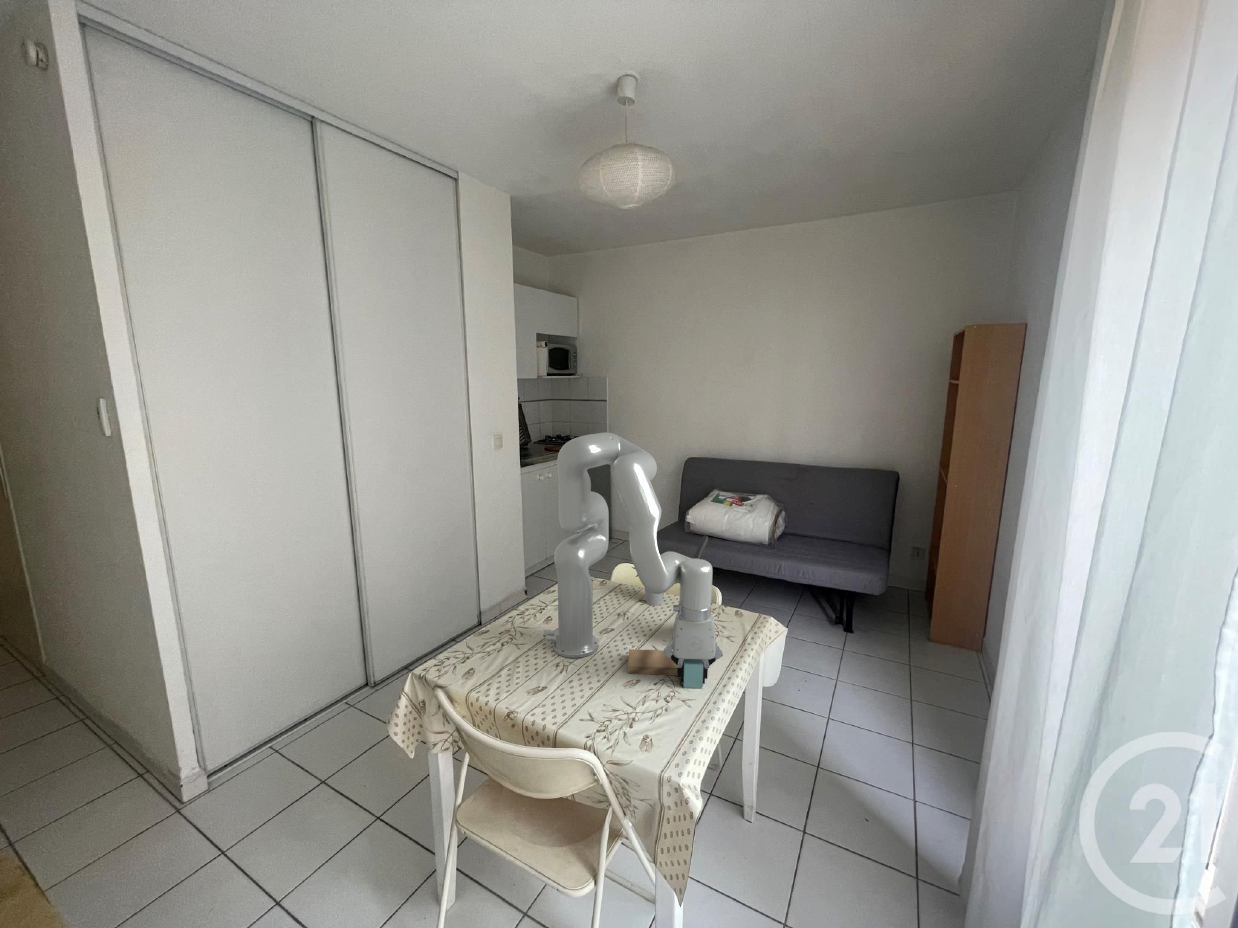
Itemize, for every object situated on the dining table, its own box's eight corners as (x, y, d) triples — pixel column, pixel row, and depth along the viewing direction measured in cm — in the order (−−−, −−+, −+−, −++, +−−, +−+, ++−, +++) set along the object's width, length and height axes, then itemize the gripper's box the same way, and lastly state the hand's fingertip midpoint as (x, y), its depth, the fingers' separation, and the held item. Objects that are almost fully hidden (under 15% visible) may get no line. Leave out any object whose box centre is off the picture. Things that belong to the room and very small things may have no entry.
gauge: (683, 687, 120) (684, 664, 119) (680, 663, 130) (680, 642, 130) (702, 688, 120) (703, 665, 119) (697, 664, 130) (698, 642, 129)
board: (627, 673, 126) (628, 665, 126) (628, 656, 134) (629, 649, 133) (707, 676, 125) (707, 668, 125) (703, 658, 133) (703, 651, 133)
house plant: (656, 588, 178) (657, 544, 175) (685, 601, 167) (686, 555, 164) (626, 599, 169) (626, 553, 166) (654, 614, 158) (655, 565, 155)
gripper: (660, 616, 116) (658, 687, 119) (733, 619, 115) (729, 690, 118) (659, 602, 123) (657, 669, 126) (727, 604, 123) (724, 672, 126)
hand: (692, 679), depth 122 cm, fingers closed on gauge, 4 cm apart
